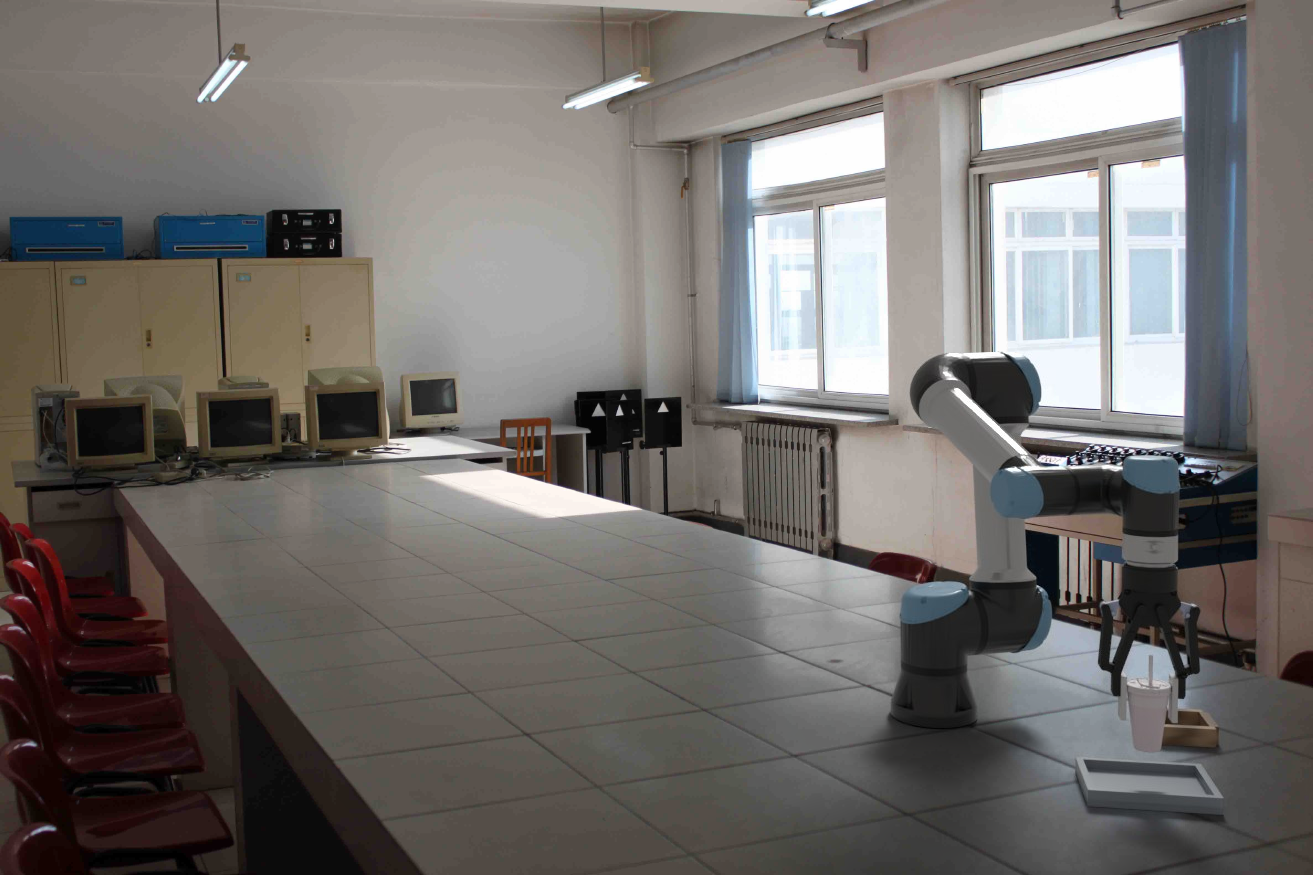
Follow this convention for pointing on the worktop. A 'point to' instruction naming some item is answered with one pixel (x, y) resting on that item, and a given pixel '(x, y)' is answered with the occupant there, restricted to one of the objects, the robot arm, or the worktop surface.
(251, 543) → the worktop surface
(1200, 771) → the tray
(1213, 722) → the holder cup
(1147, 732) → the smoothie
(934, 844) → the worktop surface
